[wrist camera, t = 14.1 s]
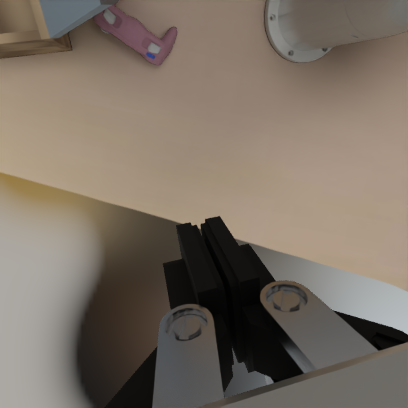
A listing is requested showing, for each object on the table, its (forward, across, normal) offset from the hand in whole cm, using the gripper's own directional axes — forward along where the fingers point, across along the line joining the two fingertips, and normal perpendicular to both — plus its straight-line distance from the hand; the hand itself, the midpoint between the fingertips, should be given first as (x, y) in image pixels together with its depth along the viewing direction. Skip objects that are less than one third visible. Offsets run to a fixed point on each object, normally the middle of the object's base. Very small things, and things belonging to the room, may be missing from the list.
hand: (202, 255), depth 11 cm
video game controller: (+37, -1, -13) cm, 39 cm away
